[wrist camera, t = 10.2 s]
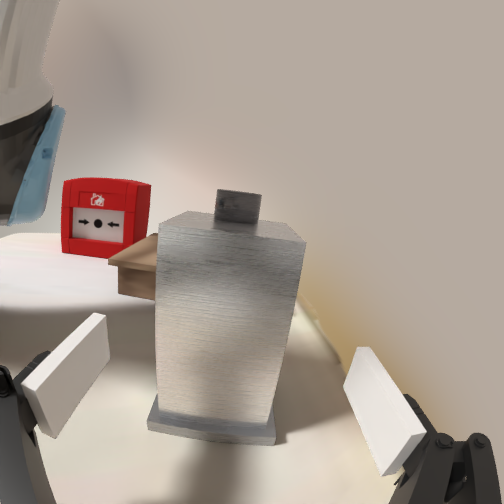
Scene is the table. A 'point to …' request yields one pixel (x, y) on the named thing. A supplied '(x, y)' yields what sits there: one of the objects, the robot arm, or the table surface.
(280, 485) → the table surface
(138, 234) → the fire alarm
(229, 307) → the aluminium housing
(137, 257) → the walnut stand
